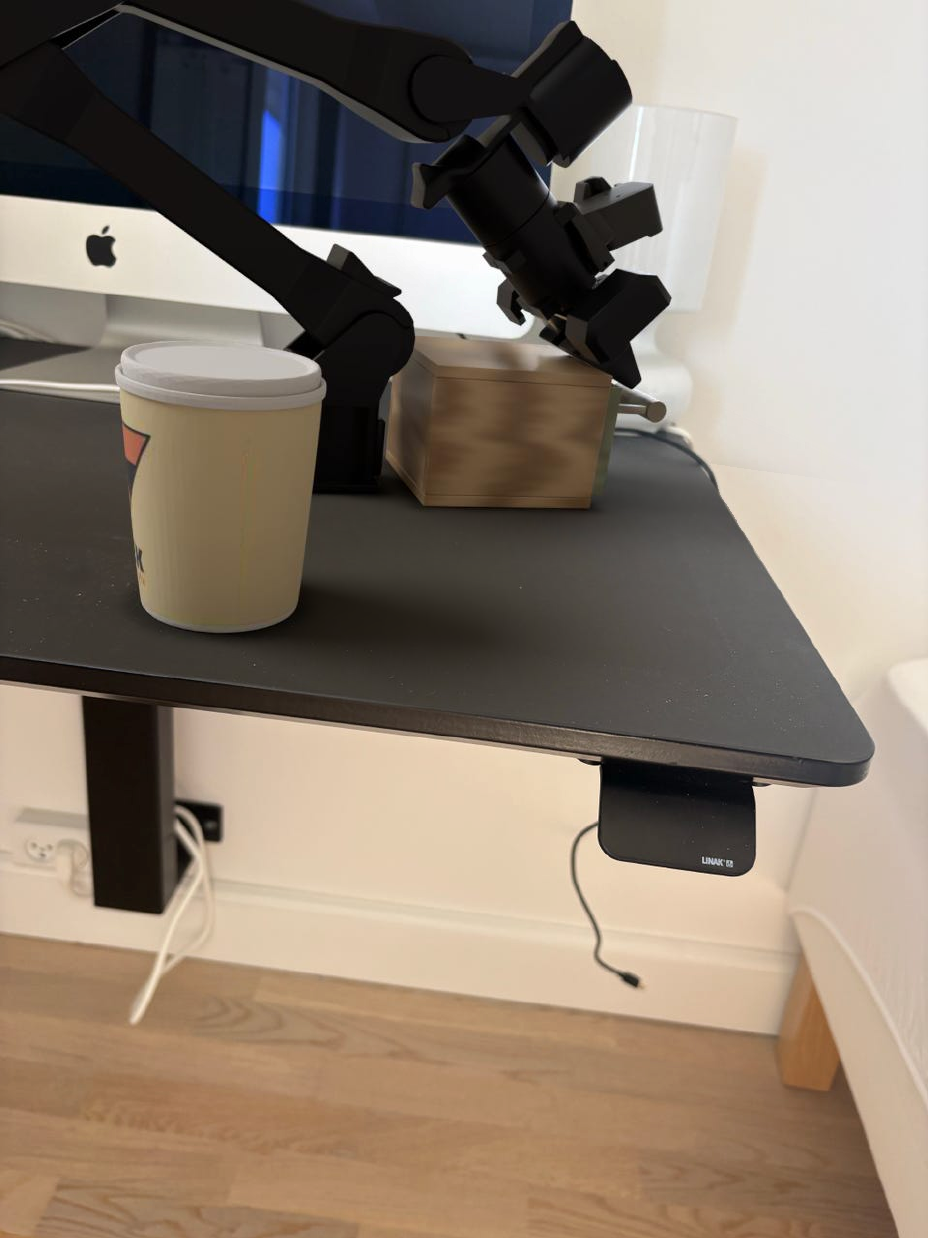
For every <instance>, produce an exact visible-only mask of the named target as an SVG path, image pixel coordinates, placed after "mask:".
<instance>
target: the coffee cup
mask: <svg viewBox="0 0 928 1238" xmlns="http://www.w3.org/2000/svg"><path fill="white" fill-rule="evenodd" d="M114 378H115V383H116V385H117V386H118V387H119V403H120V413H121V414H120V415H121V425H122V435H123V436H122V437H123V445H124V457H125V467H126V468H125V469H126V477H127V479H126V480H127V487H128V498H129V506H130V517H131V527H132V535H133V536H132V537H133V544H134V545H133V546H134V555H135V565H136V572H137V580H138V588H139V595H140V596H139V597H140V602H141V604H142V607H143V608H144V610H145V611H146V612H147V613H148V614H149V615H150V616H151V617H152V618H154V619H156V620H157V621H159V622H162V623H163V624H166V625H169V626H171V627H175V628H179V629H182V630H189V631H193V632H201V633H203V632H204V633H214V634H226V633H227V634H228V633H242V632H250V631H255V630H256V631H257V630H260V629H265V628H268V627H270V626H274V625H276V624H278V623H281V622H283V621H285V620H286V619H288V618H289V617H290V616H291V615H292V614H293V613H294V612H295V610H296V608H297V605H298V603H299V597H300V589H301V583H302V579H303V578H302V577H303V569H304V562H305V552H306V546H307V545H306V544H307V537H308V528H309V520H310V514H311V506H312V505H311V504H312V498H313V497H312V496H313V490H312V488H313V480H314V471H315V463H316V454H317V446H318V436H319V426H320V417H321V404H322V399H323V398H324V397H325V395H326V382H325V380H324V379H323V378H322V377H321V368H320V366H319V365H318V364H317V363H316V362H314V361H312V360H311V359H309V358H306V357H303V356H301V355H298V354H294V353H290V352H286V351H283V349H276V348H271V347H266V346H258V345H251V344H244V343H235V342H225V341H224V342H223V341H211V340H210V341H209V340H164V341H163V340H162V341H153V342H144V343H140V344H135V345H132V346H128V347H127V348H125V349H124V350H123V351H122V353H121V356H120V363H118V364H117V365H116V366H115V369H114Z"/></svg>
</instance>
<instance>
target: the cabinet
mask: <svg viewBox="0 0 928 1238" xmlns="http://www.w3.org/2000/svg"><path fill="white" fill-rule="evenodd" d="M612 377H613V376H611V375H609V374H607V373H605V372H603V371H601V370H599V369H597V368H595V367H593V366H591V365H589V364H587V363H585V362H583V361H581V360H579V359H577V358H575V357H573V356H571V355H569V354H568V353H566V352H564V351H562V350H561V349H559V348H557V347H555V346H553V345H551V344H550V345H549V344H537V343H523V342H509V341H495V340H481V339H470V338H469V339H468V338H453V337H442V336H441V337H439V336H426V335H415V344H414V349H413V353H412V355H411V357H410V359H409V361H408V363H407V364H406V365H405V366H404V367H403V368H402V369H401V370H400V371H399V372H398V373H397V374H395V375H394V376H392V377H391V378H392V380H391V389H390V401H389V402H390V403H389V413H388V414H389V415H388V426H387V437H386V438H387V439H386V450H385V460H386V461H387V462H388V463H389V465H390V466H391V467H392V468H393V469H394V471H395V472H396V474H397V475H398V476H399V477H400V479H401V480H402V481H403V482H404V483H405V485H406V486H407V487H408V488H409V490H410V491H411V492H412V494H413V495H414V496H415V498H416V499H417V500H418V501H419V502H420V504H421V505H422V506H423V507H454V508H455V507H461V508H462V507H463V508H464V507H465V508H466V507H467V508H521V509H522V508H525V509H526V508H528V509H529V508H530V509H531V508H532V509H533V508H534V509H535V508H536V509H590V506H591V501H592V495H593V494H592V490H593V484H594V478H595V473H596V467H597V461H598V456H599V450H600V444H601V439H602V433H603V427H604V422H605V416H606V410H607V405H608V399H609V393H610V387H611V383H612V382H613V379H612Z"/></svg>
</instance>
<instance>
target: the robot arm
mask: <svg viewBox="0 0 928 1238" xmlns="http://www.w3.org/2000/svg"><path fill="white" fill-rule="evenodd" d="M122 13H127V14H133V15H135V16H138V17H140V18H143V19H146V20H148V21H151V22H153V23H156V24H159V25H161V26H164V27H165V28H169V29H171V30H174V31H176V32H178V33H181V34H183V35H186V36H188V37H191V38H193V39H196V40H199V41H202V42H203V43H206V44H209V45H211V46H215V47H217V48H220V49H221V50H224V51H227V52H230V53H232V54H234V55H237V56H240V57H243V58H245V59H248V60H249V61H252V62H255V63H258V64H260V65H262V66H265V67H268V68H270V69H272V70H274V71H277V72H281V73H283V74H285V75H288V76H290V77H293V78H295V79H298V80H300V81H303V82H306V83H308V84H311V85H313V86H315V87H316V88H318V89H320V90H321V91H322V92H325V93H326V94H328V95H329V96H330V97H332V98H333V99H334V100H336V101H338V102H339V103H341V104H342V105H343V106H345V107H346V109H349V110H350V111H351V112H353V113H355V115H358V117H360V118H362V119H364V120H365V121H367V122H368V123H370V124H372V125H374V126H375V127H377V128H379V129H380V130H382V131H383V132H385V133H387V134H388V135H390V136H391V137H393V138H395V139H396V140H399V141H403V142H406V143H411V144H441V143H443V144H444V143H447V142H450V141H451V140H453V139H454V138H457V137H458V136H459V137H458V138H457V139H456V140H455V141H454V142H453V143H452V144H451V145H450V146H449V147H448V148H447V149H446V150H445V151H444V152H443V153H442V154H441V155H439V157H438V158H437V159H435V161H433V162H432V164H427V163H425V162H414V163H412V165H411V171H412V176H413V178H412V179H413V180H412V181H413V183H412V188H411V195H410V200H409V202H410V204H411V205H412V207H414V208H417V209H421V210H426V211H430V210H432V209H433V208H435V207H436V205H438V203H439V202H441V201H442V200H443V199H444V198H445V199H446V200H447V202H448V203H449V204H450V206H451V208H452V209H453V210H454V211H455V212H456V213H457V215H458V216H459V218H460V219H461V220H462V221H463V223H464V224H465V226H466V227H467V228H468V230H469V231H470V232H471V234H472V235H473V236H474V238H475V239H476V240H477V242H478V243H479V244H480V245H481V247H482V248H483V249H484V251H485V252H484V253H482V254H481V256H482V258H483V259H484V260H485V262H486V263H487V264H488V266H489V267H491V268H493V269H496V270H499V271H500V272H501V273H502V275H503V276H504V278H505V279H504V280H503V281H502V282H501V283H500V284H499V285H498V286H497V292H496V302H495V304H496V305H497V307H498V308H499V309H500V311H502V313H503V314H504V315H505V317H506V318H507V319H508V320H509V322H511V323H514V324H516V325H517V326H519V327H521V326H523V325H525V323H526V322H527V319H526V317H525V315H524V313H523V311H524V312H526V313H529V314H530V316H531V315H532V317H535V318H537V319H539V320H540V321H541V323H543V325H544V328H542V329H541V330H540V331H539V333H538V337H539V339H541V340H543V341H545V342H547V343H549V344H550V345H551V346H553V347H554V348H557V349H559V350H561V351H563V352H565V353H567V354H569V355H571V356H573V357H575V358H577V359H579V360H581V361H583V362H585V363H587V364H589V365H591V366H593V367H595V368H597V369H599V370H601V371H603V372H605V373H607V374H609V375H611V376H613V377H612V381H615V382H616V383H620V384H622V385H623V386H625V387H627V388H629V389H634V388H635V389H636V387H637V386H639V384H640V383H641V382H642V379H643V378H642V375H641V371H640V369H639V365H638V363H637V359H636V356H635V353H634V350H633V346H632V343H631V342H632V341H633V340H634V339H635V338H636V337H637V336H638V335H639V334H640V333H642V332H643V330H645V328H647V327H648V326H649V325H650V324H651V323H652V322H653V321H654V320H655V319H656V318H658V317H659V316H660V314H661V313H663V312H664V311H665V310H666V309H667V308H668V307H669V306H670V305H671V302H672V299H673V297H672V295H671V293H669V291H668V290H667V288H666V286H665V285H664V283H663V282H662V280H661V279H660V277H659V276H658V275H657V274H653V273H649V272H646V271H642V270H638V269H634V268H622V267H621V268H619V267H618V268H617V267H616V268H615V269H614V270H613V271H612V272H611V273H610V274H608V273H604V272H605V271H606V270H607V269H608V268H609V267H610V266H611V265H612V264H613V263H615V261H616V259H615V257H614V256H613V255H612V253H611V252H613V251H616V250H619V249H621V248H623V247H626V246H627V245H630V244H632V243H634V242H636V241H638V240H641V239H643V238H646V237H648V238H653V237H655V236H657V235H659V234H660V233H662V232H663V231H664V226H663V221H662V216H661V212H660V207H659V203H658V199H657V194H656V190H655V185H654V183H652V182H641V181H628V182H624V183H622V182H616V183H615V184H613V187H612V186H611V184H610V183H609V182H608V181H607V180H606V179H605V178H604V177H603V176H599V175H591V176H588V177H587V178H584V179H582V180H579V181H577V182H576V183H575V187H574V194H573V201H565V200H557V199H556V197H555V196H554V195H553V194H552V192H551V190H550V189H549V188H548V186H547V185H546V183H545V182H544V180H543V179H542V178H541V176H540V174H539V172H538V171H537V170H536V169H535V167H534V166H533V164H532V163H531V161H530V160H529V158H530V159H531V160H532V161H533V162H534V163H536V165H538V166H540V167H542V168H547V167H548V166H549V165H550V164H552V163H553V164H555V165H556V166H558V167H561V168H562V169H567V168H569V167H571V166H572V165H573V164H574V163H575V161H576V160H578V159H579V158H580V157H581V156H582V155H583V154H584V153H585V152H586V151H587V150H588V149H589V148H590V147H591V146H592V145H593V144H594V143H596V141H597V140H598V139H599V138H601V136H603V135H604V134H605V133H606V132H607V131H608V130H609V129H610V128H611V127H612V126H614V124H615V123H616V122H617V121H618V120H619V119H620V118H621V117H622V116H623V115H625V113H626V112H627V111H628V110H629V109H630V108H631V107H632V106H633V103H634V102H633V100H634V99H633V97H634V96H633V92H632V87H631V86H630V83H629V80H628V78H627V76H626V74H625V72H624V70H623V68H622V67H621V65H620V64H619V62H618V61H617V60H616V59H614V58H612V59H611V57H610V56H609V54H608V53H607V52H606V51H605V50H604V49H603V48H602V47H601V46H600V45H599V44H598V43H597V42H595V41H594V40H593V39H591V38H589V37H588V36H587V35H584V34H583V32H582V30H581V28H580V27H579V25H578V24H577V22H576V20H574V19H573V20H572V19H570V20H565V21H563V22H559V23H558V24H557V25H556V26H555V27H554V28H553V29H552V30H551V31H550V32H549V33H548V34H547V35H546V37H545V38H544V40H543V41H542V43H541V44H540V46H539V47H538V48H537V49H536V50H535V51H534V52H533V53H532V54H531V55H530V56H529V57H528V58H527V59H526V60H525V61H524V62H523V63H522V64H521V65H520V66H519V67H518V68H517V69H516V70H515V71H514V72H513V73H512V74H511V75H509V74H508V72H499V71H495V70H493V69H489V68H486V67H482V66H479V65H476V64H474V61H473V57H472V55H471V54H470V52H468V50H467V49H466V48H465V47H464V46H462V45H461V44H459V43H458V42H456V41H455V40H454V39H452V38H449V37H447V36H444V35H439V34H434V33H429V32H425V31H420V30H416V29H411V28H406V27H403V26H398V25H397V26H396V25H390V24H383V23H375V22H368V21H361V20H355V19H352V18H351V19H350V18H347V17H342V16H338V15H336V14H333V13H331V12H328V11H326V10H324V9H321V8H319V7H317V6H314V5H311V4H309V3H307V2H305V1H302V0H0V115H2V116H4V117H6V118H8V119H10V120H12V121H13V122H15V123H17V124H20V125H21V126H23V127H25V128H27V129H30V130H31V131H34V132H36V133H37V134H40V135H42V136H44V137H46V138H48V139H50V140H52V141H53V142H55V143H58V144H59V145H62V146H63V147H65V148H67V149H69V150H71V151H73V152H74V153H76V154H78V155H79V156H81V157H82V159H84V160H86V161H87V162H88V163H90V164H91V165H93V166H94V167H95V168H96V169H98V170H99V171H101V172H102V173H103V174H105V175H106V176H108V177H109V179H111V180H113V181H114V182H116V183H117V184H118V185H120V186H121V187H122V188H124V189H125V190H127V191H128V192H129V193H130V194H132V195H134V196H135V197H136V198H138V199H139V200H140V201H142V202H143V203H144V204H146V205H147V206H148V207H150V208H151V209H152V210H154V211H155V212H156V213H158V214H159V215H161V216H162V217H163V218H165V219H166V220H167V221H169V222H170V223H171V224H173V225H174V226H176V227H177V228H178V229H179V230H181V231H182V232H183V233H185V234H186V235H188V236H189V237H190V238H192V239H193V240H195V241H196V242H197V243H199V244H200V245H201V246H203V247H204V248H206V249H207V250H208V251H210V252H211V253H213V254H214V256H217V257H218V258H219V259H221V260H222V261H223V262H225V263H226V264H227V265H229V266H230V267H232V269H234V270H235V271H237V272H238V273H240V275H242V276H243V277H244V278H246V279H248V280H249V281H251V282H252V283H253V284H255V285H256V286H257V287H258V288H259V289H261V290H263V291H264V292H266V293H267V294H268V295H269V296H271V297H272V298H273V299H274V300H275V301H276V302H277V303H278V304H279V305H280V306H281V307H282V308H283V309H284V310H285V311H286V312H287V313H288V314H289V316H291V318H293V320H294V321H295V322H296V323H297V324H298V325H299V326H300V327H301V328H302V329H303V331H301V332H300V333H299V334H298V335H297V336H296V337H295V338H294V339H292V340H291V341H290V342H289V343H288V344H287V345H286V346H285V347H284V348H283V349H282V351H286V352H290V353H294V354H298V355H301V356H303V357H306V358H309V359H311V360H312V361H314V362H316V363H317V364H318V365H319V366H320V368H321V377H322V378H323V379H324V380H325V382H326V395H325V397H324V398H323V399H322V404H321V417H320V426H319V436H318V446H317V454H316V463H315V471H314V480H313V488H312V491H337V492H338V491H341V492H342V491H345V492H378V491H380V482H379V481H378V480H377V478H379V477H380V476H381V475H382V471H383V459H384V447H385V435H386V434H385V433H386V421H385V420H384V418H383V417H382V416H381V415H380V414H379V413H380V403H381V402H380V401H381V399H382V396H383V395H384V392H385V389H386V388H387V385H388V383H389V381H390V379H391V378H392V377H393V376H394V375H395V374H397V373H398V372H399V371H400V370H401V369H402V368H403V367H404V366H405V365H406V364H407V363H408V361H409V359H410V357H411V355H412V353H413V349H414V344H415V336H416V331H415V322H414V319H413V317H412V315H411V313H410V311H408V309H407V308H406V307H405V306H404V305H403V304H402V303H401V302H400V301H399V300H397V299H396V297H399V296H401V295H402V294H403V289H401V288H400V287H398V286H396V285H395V284H392V283H391V282H389V281H388V280H386V279H383V278H382V277H380V276H377V275H375V274H374V273H373V272H372V271H371V270H370V269H369V268H368V267H367V265H366V264H365V263H364V262H363V261H362V260H361V259H360V257H358V256H357V255H356V253H354V252H353V251H352V250H350V249H347V248H345V247H344V246H342V245H340V244H338V243H333V244H332V246H331V248H330V251H329V253H328V255H327V258H326V260H325V259H324V258H322V257H320V256H318V255H316V254H314V253H312V252H310V251H308V250H306V249H304V248H303V247H301V246H300V245H298V244H297V243H295V241H293V240H291V239H290V238H289V237H288V236H286V235H285V234H284V233H283V232H282V231H280V229H279V230H278V228H276V227H275V226H274V225H272V224H271V223H270V222H269V221H267V220H266V219H265V218H263V217H262V216H261V215H260V214H258V213H257V212H256V211H254V210H253V209H251V208H250V207H249V206H248V205H247V204H246V203H244V202H243V201H242V200H240V199H239V198H238V197H236V196H235V195H234V194H232V193H231V192H230V191H229V190H228V189H226V188H225V187H223V186H222V185H221V184H219V183H218V182H217V181H216V180H214V179H213V178H212V177H211V176H209V174H207V173H205V172H204V171H203V170H202V169H200V168H199V167H197V166H196V165H195V164H194V163H192V162H191V161H190V160H189V159H187V158H186V157H185V156H183V155H182V154H181V153H180V152H178V151H177V150H176V149H175V148H174V147H172V146H171V145H170V144H168V143H167V142H165V140H163V139H162V138H160V137H159V136H158V135H156V133H154V132H153V131H151V130H150V129H149V128H148V127H146V126H145V125H144V124H142V123H141V122H140V121H138V120H137V119H136V118H135V117H133V116H132V115H131V114H130V113H128V112H127V111H126V110H124V109H123V108H122V107H121V106H119V105H118V104H116V103H115V102H114V101H113V100H112V99H110V98H109V97H108V96H107V95H106V94H105V93H104V92H103V91H102V90H101V89H100V88H99V87H98V86H97V85H96V84H95V83H94V82H93V81H92V80H91V78H90V77H89V76H88V75H87V74H86V73H85V72H84V71H83V69H81V68H80V67H79V66H78V64H76V62H74V60H73V59H72V58H71V57H70V56H69V55H68V54H67V53H66V52H65V51H64V49H66V48H68V47H69V46H71V45H72V44H74V43H75V42H78V41H79V40H80V39H81V38H84V37H85V36H87V35H88V34H89V33H91V32H93V31H94V30H96V29H97V28H99V27H101V26H102V25H104V24H105V23H107V22H108V21H110V20H112V19H114V18H115V17H117V16H119V15H121V14H122ZM495 117H498V118H497V119H496V120H495V121H494V122H492V124H491V125H490V126H489V127H487V128H486V130H485V131H484V132H482V133H481V134H479V136H478V137H476V138H475V137H473V136H471V135H470V134H468V133H464V131H465V130H466V129H467V128H468V127H469V126H470V125H471V124H472V122H473V121H474V120H476V119H477V120H478V119H486V118H495ZM513 136H514V137H513ZM515 139H516V140H515ZM524 152H525V153H524ZM526 155H527V156H526ZM528 157H529V158H528ZM599 273H603V274H600V275H599ZM597 275H598V276H597ZM522 310H523V311H522Z"/></svg>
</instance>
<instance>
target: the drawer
mask: <svg viewBox="0 0 928 1238" xmlns="http://www.w3.org/2000/svg"><path fill="white" fill-rule="evenodd" d="M667 412H668V411H667V406H666V404H665V403H664V402H663V401H661V400H659V399H657V398H655V397H653V396H651V395H649V394H647V393H645V392H643V391H641V390H639V389H637V388H636V387H635V388H634V389H629V388H627V387H625V386H623V385H622V384H620V383H618V382H616V383H611V387H610V393H609V399H608V405H607V410H606V416H605V422H604V427H603V433H602V439H601V444H600V450H599V456H598V461H597V467H596V473H595V478H594V484H593V490H592V495H604V491H605V485H606V480H607V474H608V469H609V464H610V459H611V454H612V447H613V441H614V435H615V430H616V424H617V419H618V414H622V415H637V416H640V417H641V418H644V419H645V420H647V421H649V422H651V423H659V422H662V421H663V420H664V419H665V417H666V416H667Z"/></svg>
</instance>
